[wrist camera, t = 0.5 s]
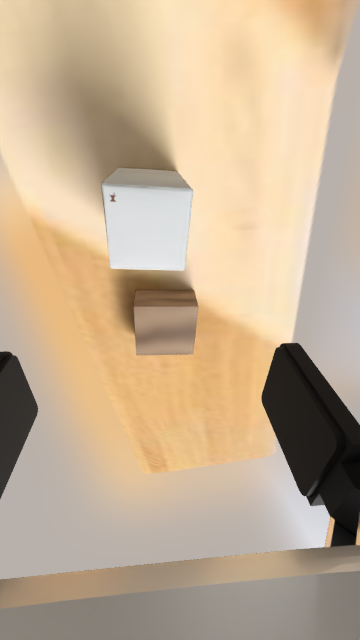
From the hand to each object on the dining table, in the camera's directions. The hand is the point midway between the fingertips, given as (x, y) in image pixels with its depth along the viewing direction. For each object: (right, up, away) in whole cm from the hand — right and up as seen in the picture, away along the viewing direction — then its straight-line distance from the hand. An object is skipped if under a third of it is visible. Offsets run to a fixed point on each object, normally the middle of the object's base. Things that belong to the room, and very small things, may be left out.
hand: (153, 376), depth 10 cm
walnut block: (-2, +3, +33) cm, 33 cm away
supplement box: (-3, +17, +23) cm, 29 cm away
